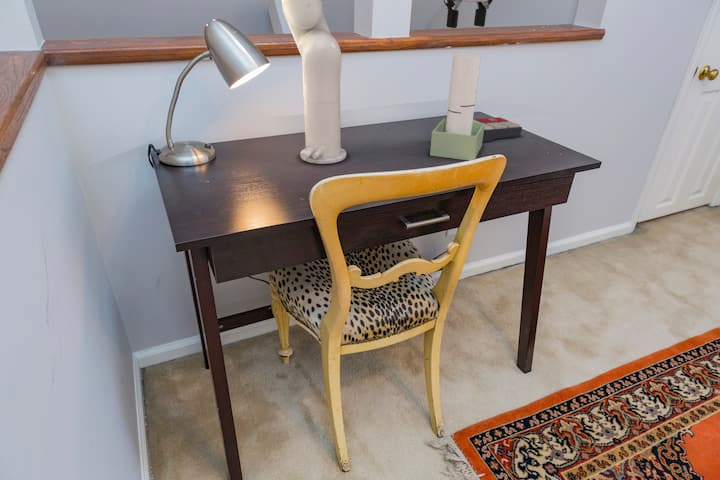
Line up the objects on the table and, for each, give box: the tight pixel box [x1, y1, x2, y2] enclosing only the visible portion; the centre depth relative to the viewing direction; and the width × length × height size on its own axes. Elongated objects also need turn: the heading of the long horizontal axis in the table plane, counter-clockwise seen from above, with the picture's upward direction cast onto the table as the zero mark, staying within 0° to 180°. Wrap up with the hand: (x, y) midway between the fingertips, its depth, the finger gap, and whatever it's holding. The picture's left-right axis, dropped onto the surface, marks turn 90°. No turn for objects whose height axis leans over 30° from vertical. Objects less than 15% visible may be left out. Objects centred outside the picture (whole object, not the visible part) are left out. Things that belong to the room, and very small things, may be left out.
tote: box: [429, 118, 485, 161], centre depth 138 cm, size 14×12×7 cm
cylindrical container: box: [445, 52, 482, 135], centre depth 133 cm, size 7×7×25 cm
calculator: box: [473, 116, 523, 143], centre depth 152 cm, size 11×4×15 cm
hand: (465, 26), depth 123 cm, fingers open, 9 cm apart
